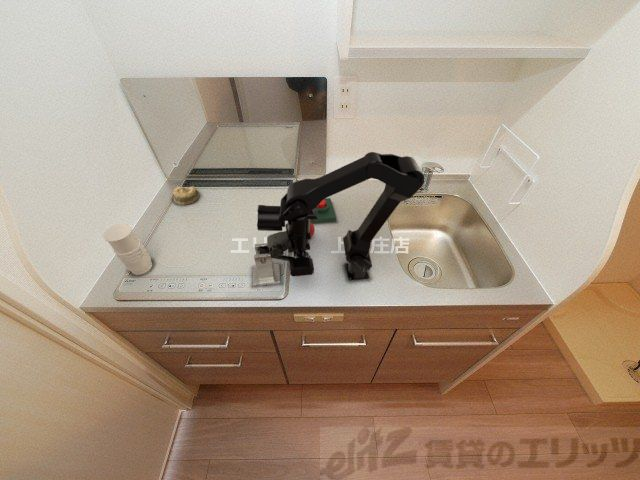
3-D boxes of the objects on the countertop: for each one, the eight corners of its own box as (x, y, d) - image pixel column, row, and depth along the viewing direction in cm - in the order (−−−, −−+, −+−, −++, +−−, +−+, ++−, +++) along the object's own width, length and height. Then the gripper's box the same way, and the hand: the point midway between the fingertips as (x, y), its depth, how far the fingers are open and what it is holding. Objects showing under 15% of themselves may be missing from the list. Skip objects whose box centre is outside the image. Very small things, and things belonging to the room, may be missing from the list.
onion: (312, 244, 93) (312, 227, 87) (296, 241, 93) (295, 224, 87) (315, 233, 97) (316, 216, 91) (300, 230, 97) (300, 213, 91)
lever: (301, 260, 83) (305, 253, 81) (302, 268, 80) (307, 262, 78) (256, 252, 77) (259, 245, 75) (256, 261, 75) (259, 253, 73)
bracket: (279, 265, 86) (276, 239, 77) (280, 283, 81) (277, 258, 72) (253, 267, 85) (248, 242, 76) (253, 286, 80) (247, 260, 71)
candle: (150, 274, 81) (127, 240, 70) (125, 277, 80) (98, 242, 69) (156, 257, 86) (135, 222, 75) (133, 259, 85) (108, 224, 74)
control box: (335, 221, 101) (336, 213, 98) (309, 223, 100) (309, 215, 97) (330, 202, 110) (330, 194, 107) (305, 203, 108) (305, 195, 105)
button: (326, 208, 101) (326, 204, 100) (316, 208, 101) (316, 204, 99) (324, 202, 104) (324, 198, 102) (315, 202, 103) (315, 199, 102)
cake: (199, 204, 106) (195, 194, 102) (172, 207, 104) (167, 197, 100) (200, 188, 112) (196, 177, 108) (175, 191, 110) (170, 180, 106)
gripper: (267, 207, 76) (271, 245, 87) (268, 257, 63) (272, 294, 74) (306, 205, 77) (305, 242, 88) (315, 253, 65) (312, 290, 76)
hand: (298, 265), depth 82 cm, fingers closed on lever, 3 cm apart
